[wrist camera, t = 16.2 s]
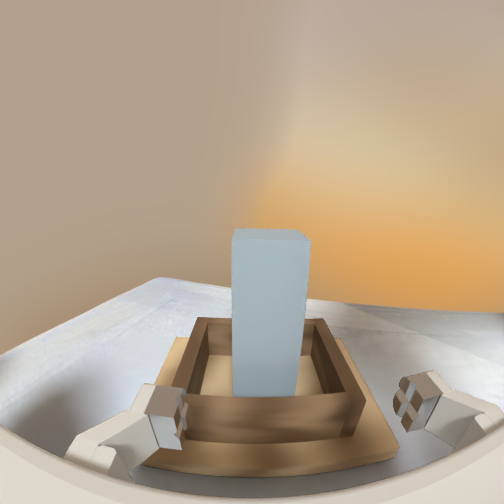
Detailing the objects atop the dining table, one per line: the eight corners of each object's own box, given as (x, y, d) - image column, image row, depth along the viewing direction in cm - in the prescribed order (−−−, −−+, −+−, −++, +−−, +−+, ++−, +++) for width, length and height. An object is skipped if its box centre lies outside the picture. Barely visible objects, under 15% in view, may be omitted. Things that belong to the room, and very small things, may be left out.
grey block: (286, 372, 25) (297, 229, 22) (293, 406, 20) (311, 240, 17) (235, 372, 25) (235, 228, 22) (233, 406, 20) (231, 239, 17)
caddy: (338, 348, 32) (345, 309, 31) (393, 457, 14) (419, 412, 13) (177, 347, 32) (173, 306, 31) (130, 461, 14) (108, 416, 13)
